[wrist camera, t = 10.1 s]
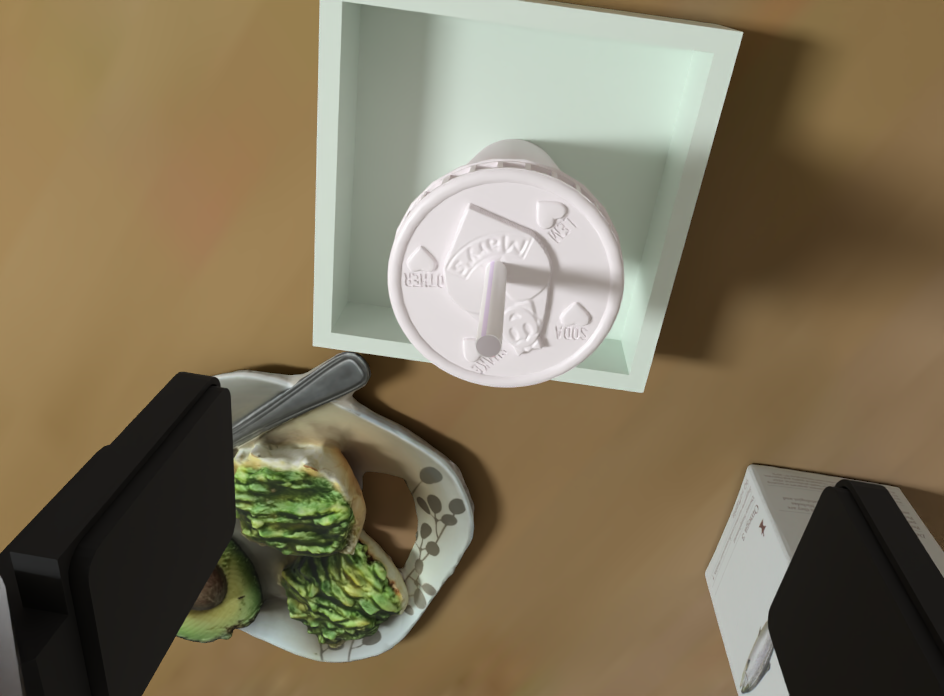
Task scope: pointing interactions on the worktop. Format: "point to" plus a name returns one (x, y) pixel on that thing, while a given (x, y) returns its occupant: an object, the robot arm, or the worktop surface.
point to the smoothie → (506, 269)
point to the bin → (510, 117)
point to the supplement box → (770, 565)
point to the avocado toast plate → (325, 519)
